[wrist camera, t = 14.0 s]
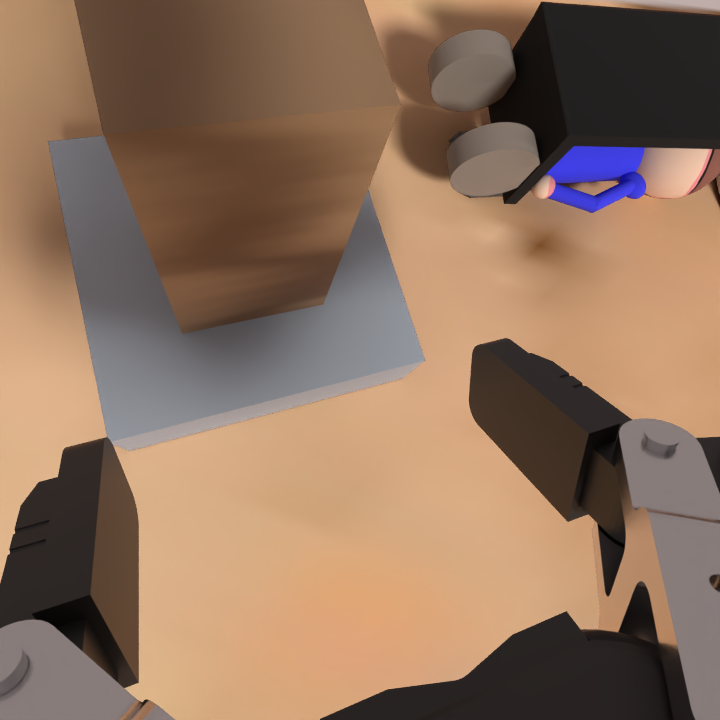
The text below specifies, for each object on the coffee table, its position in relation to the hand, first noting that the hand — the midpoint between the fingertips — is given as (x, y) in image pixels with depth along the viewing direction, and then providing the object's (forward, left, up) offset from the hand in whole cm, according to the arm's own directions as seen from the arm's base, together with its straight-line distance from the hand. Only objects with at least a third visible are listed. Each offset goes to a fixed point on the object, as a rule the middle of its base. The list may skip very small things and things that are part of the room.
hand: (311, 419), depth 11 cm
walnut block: (0, -7, -6) cm, 10 cm away
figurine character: (-17, -10, -10) cm, 22 cm away
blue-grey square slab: (0, -7, -9) cm, 12 cm away
